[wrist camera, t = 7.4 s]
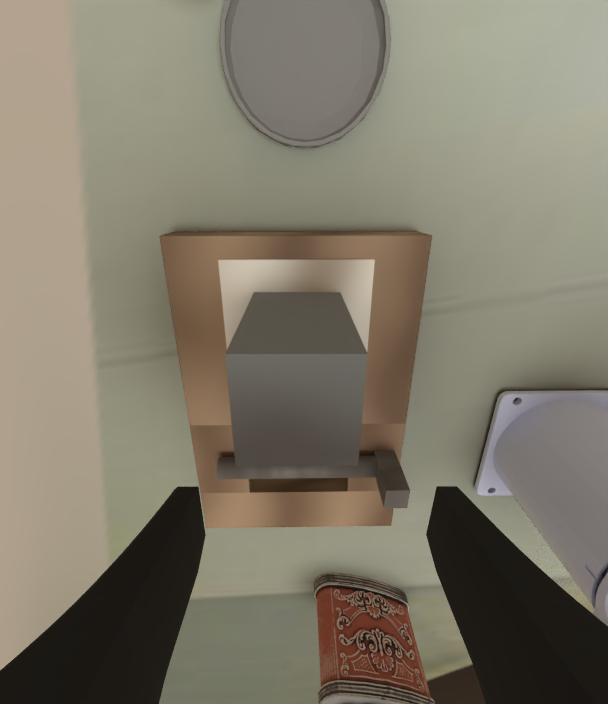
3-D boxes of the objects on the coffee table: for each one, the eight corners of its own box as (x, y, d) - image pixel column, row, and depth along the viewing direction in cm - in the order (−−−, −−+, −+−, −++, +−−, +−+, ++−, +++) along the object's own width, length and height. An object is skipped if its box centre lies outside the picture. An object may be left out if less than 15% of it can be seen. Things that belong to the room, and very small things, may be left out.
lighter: (307, 592, 29) (311, 778, 19) (323, 566, 27) (336, 752, 18) (394, 613, 30) (436, 796, 21) (413, 590, 29) (467, 773, 20)
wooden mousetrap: (417, 231, 17) (461, 243, 13) (384, 501, 25) (403, 570, 20) (174, 232, 17) (128, 244, 13) (213, 503, 24) (193, 573, 20)
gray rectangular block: (336, 369, 18) (358, 465, 11) (258, 369, 18) (235, 466, 11) (340, 292, 16) (368, 354, 10) (253, 292, 16) (224, 354, 10)
